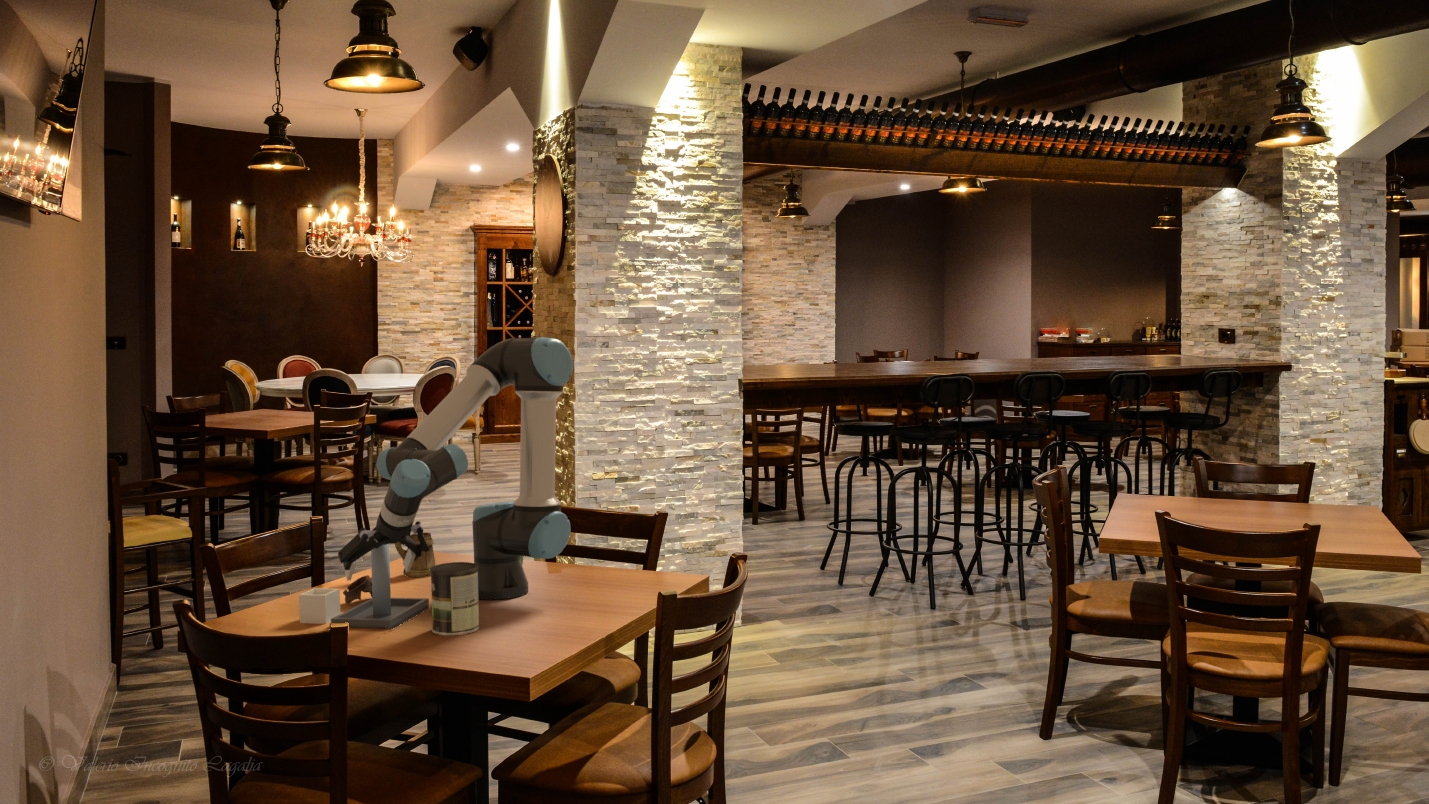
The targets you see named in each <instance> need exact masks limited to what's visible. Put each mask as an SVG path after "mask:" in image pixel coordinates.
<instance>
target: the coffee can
mask: <svg viewBox="0 0 1429 804" xmlns="http://www.w3.org/2000/svg"><path fill="white" fill-rule="evenodd" d="M430 572H431V576H430V583H431V589H430V590H431V620H432V621H431V622H432V624H431V625H432V626H431V627H432V628H431V630H432V631H431V632H432V633H433V634H434V633H435V634H434V635H437V634H438V635H437V636H442V635H443V636H444V637H454V636H455V635H458V636H464V635H469V634H472V633H475V632H477V631H479V629H480V612H479V611H480V609H479V599H478V565H477V564H475V563H474V562H467V561H453V562H445V563H439V564H436V566H433V567H431V568H430ZM468 633H469V634H468ZM463 634H464V635H463ZM455 637H456V636H455Z"/></svg>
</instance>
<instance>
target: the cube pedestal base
mask: <svg viewBox="0 0 1429 804" xmlns="http://www.w3.org/2000/svg"><path fill="white" fill-rule="evenodd" d="M340 590H341V589H340V588H320V587H319V588H317V587H315V588H312V589H309V590H307V591H304V592H302V593H300V594H298V605H299V607H298V609H299V610H298V611H299V624H316V625H317V624H320V625H325V624H329V623H331V619H332V618H333V617H335V616H337V615H339V614H341V591H340Z"/></svg>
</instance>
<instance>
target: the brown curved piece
mask: <svg viewBox="0 0 1429 804" xmlns="http://www.w3.org/2000/svg"><path fill="white" fill-rule="evenodd" d="M362 592H363V593H369V594H370V597H371V598H372V577H370V575H369V574H367V575H363V576H361V577H358V578H356V580H354V581H353V582H352V583H350V584H349V585H348V586H347V587H346V589H344V590H343V592H342V593H343V595H344V597H345V598H344V602H345V603H346V604H351V603H352V602H353V601H355V600H358V601H361V600H362Z"/></svg>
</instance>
